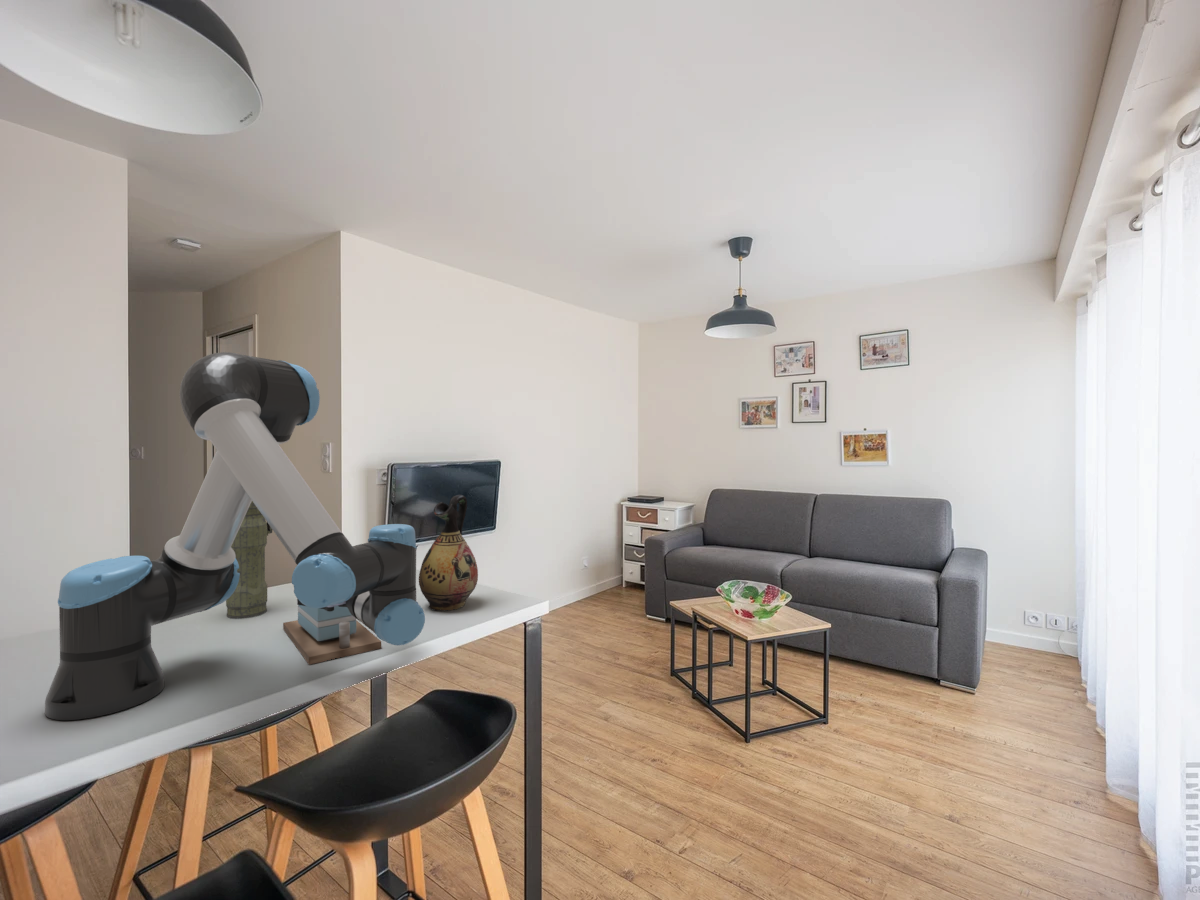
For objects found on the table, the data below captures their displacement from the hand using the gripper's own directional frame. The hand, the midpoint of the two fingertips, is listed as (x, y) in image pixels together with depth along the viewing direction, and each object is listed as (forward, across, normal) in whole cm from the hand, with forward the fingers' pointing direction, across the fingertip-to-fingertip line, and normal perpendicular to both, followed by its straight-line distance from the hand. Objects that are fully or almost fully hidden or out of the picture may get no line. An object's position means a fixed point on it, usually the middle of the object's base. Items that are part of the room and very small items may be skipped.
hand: (342, 581), depth 118 cm
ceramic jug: (+15, +32, -14) cm, 38 cm away
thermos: (+41, -12, -14) cm, 45 cm away
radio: (+8, -1, -13) cm, 15 cm away
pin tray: (+8, 0, -14) cm, 16 cm away
